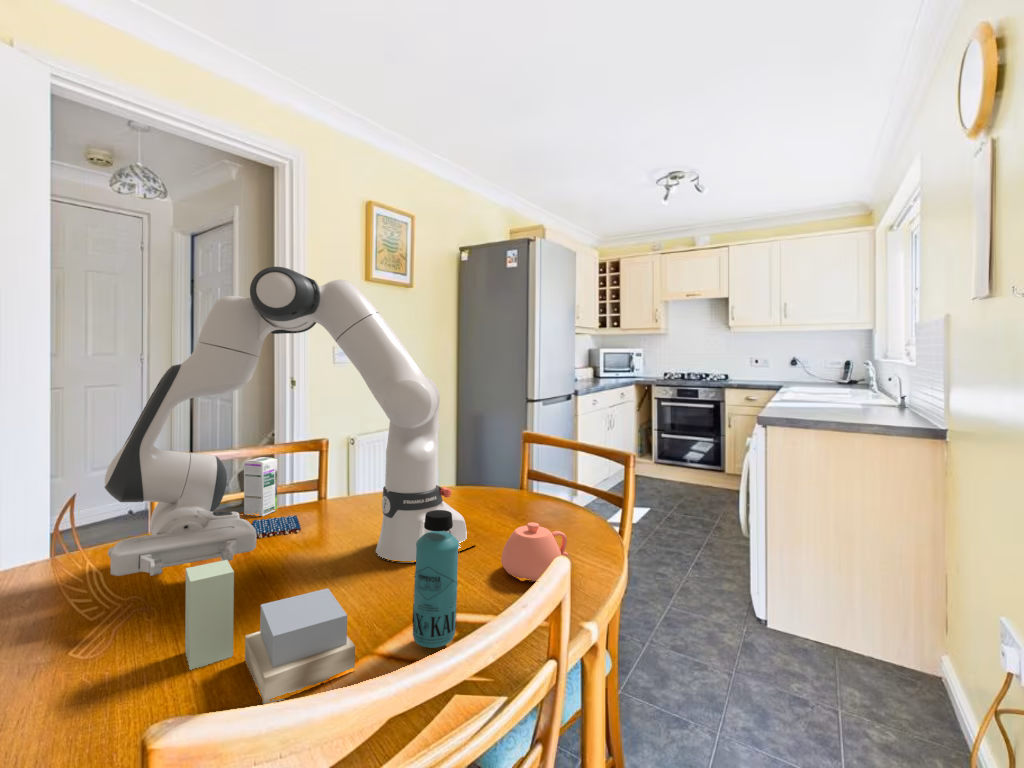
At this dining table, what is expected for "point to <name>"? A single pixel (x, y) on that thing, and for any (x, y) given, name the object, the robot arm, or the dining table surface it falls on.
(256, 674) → the tower base
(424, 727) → the dining table surface
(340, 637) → the tower top
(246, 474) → the syrup box
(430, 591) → the beverage bottle
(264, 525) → the blue studded pad
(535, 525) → the sugar bowl
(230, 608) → the sage block
